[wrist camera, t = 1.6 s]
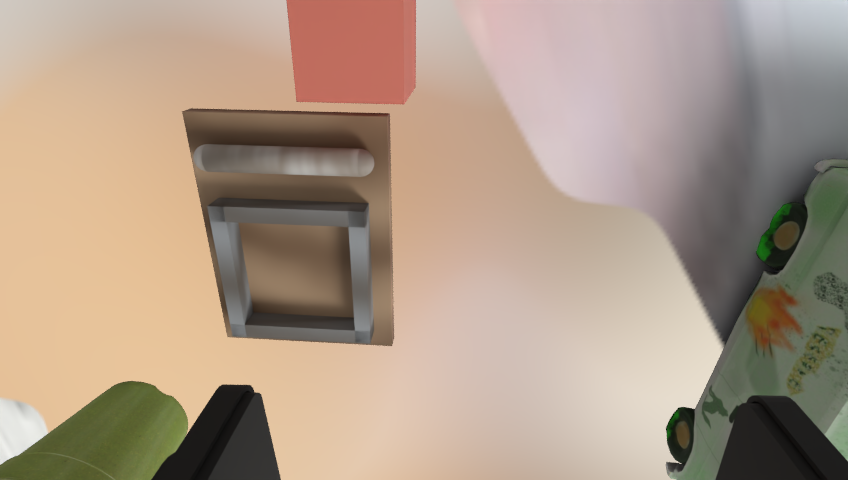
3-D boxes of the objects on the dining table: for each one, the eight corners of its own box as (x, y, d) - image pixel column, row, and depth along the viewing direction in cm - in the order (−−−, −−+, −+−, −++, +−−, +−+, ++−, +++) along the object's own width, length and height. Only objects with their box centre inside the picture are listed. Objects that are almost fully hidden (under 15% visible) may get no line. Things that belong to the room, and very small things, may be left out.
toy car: (651, 450, 38) (711, 587, 29) (795, 145, 27) (963, 208, 18) (785, 471, 37) (887, 614, 28) (982, 172, 27) (1246, 249, 18)
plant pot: (146, 333, 36) (22, 457, 26) (244, 436, 40) (169, 579, 30) (46, 386, 39) (-101, 516, 29) (145, 477, 43) (47, 619, 33)
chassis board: (191, 108, 28) (166, 116, 26) (389, 113, 28) (383, 122, 25) (233, 328, 35) (217, 350, 33) (393, 337, 34) (388, 360, 32)
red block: (322, -13, 25) (284, -22, 20) (415, -12, 25) (403, -21, 19) (329, 85, 27) (296, 101, 22) (415, 87, 27) (404, 104, 22)
